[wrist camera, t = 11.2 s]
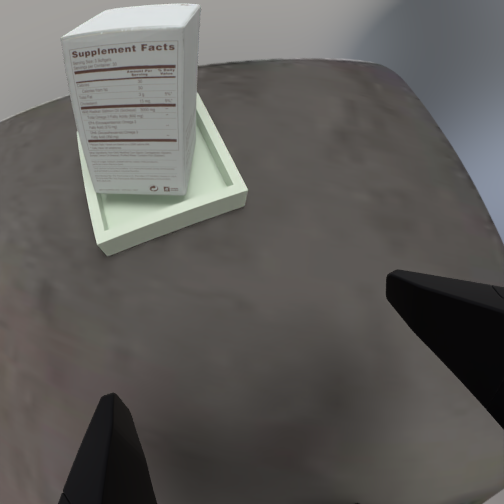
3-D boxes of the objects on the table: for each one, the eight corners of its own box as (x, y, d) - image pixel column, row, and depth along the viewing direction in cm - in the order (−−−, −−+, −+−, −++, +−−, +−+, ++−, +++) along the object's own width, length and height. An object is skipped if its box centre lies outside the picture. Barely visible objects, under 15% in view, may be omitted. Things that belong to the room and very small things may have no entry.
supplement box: (118, 140, 26) (105, 8, 16) (197, 141, 27) (204, 2, 16) (92, 196, 22) (56, 36, 11) (186, 199, 22) (187, 22, 12)
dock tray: (244, 206, 26) (247, 190, 23) (107, 256, 23) (97, 244, 20) (197, 110, 29) (197, 92, 26) (84, 148, 26) (76, 132, 24)
